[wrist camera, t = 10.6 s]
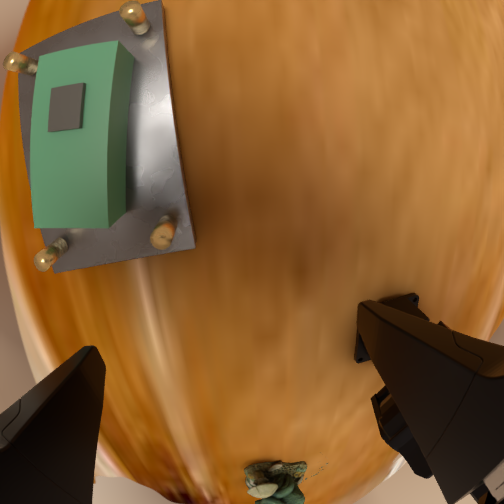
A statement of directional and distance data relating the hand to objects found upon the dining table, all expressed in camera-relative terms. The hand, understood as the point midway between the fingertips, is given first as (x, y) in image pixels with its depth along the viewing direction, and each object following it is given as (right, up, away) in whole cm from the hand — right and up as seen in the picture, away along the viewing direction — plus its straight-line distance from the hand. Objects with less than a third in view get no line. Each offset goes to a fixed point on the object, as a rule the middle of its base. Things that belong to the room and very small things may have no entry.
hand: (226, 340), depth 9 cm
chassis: (-9, +10, +8) cm, 16 cm away
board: (-9, +10, +6) cm, 15 cm away
